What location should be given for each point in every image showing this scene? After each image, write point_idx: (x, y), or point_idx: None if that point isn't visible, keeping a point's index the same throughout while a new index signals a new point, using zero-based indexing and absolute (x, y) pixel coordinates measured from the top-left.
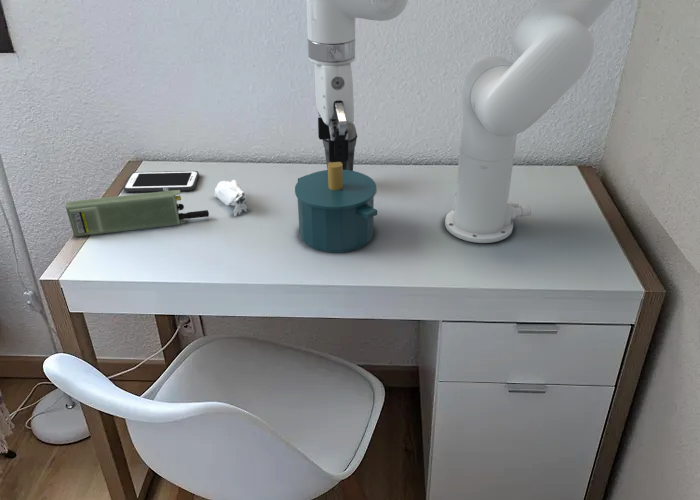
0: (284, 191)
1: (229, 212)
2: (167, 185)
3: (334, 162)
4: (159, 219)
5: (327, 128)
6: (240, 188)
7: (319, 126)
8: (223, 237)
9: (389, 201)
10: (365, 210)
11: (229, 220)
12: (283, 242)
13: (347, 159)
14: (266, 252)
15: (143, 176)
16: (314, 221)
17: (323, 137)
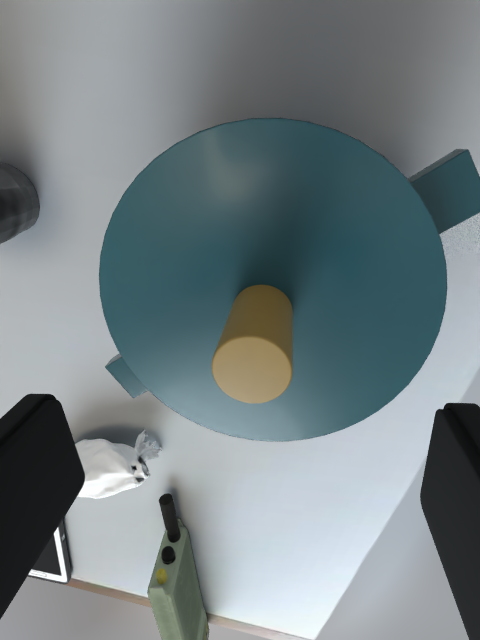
0: (46, 346)
1: None
2: (53, 537)
3: (230, 370)
4: (188, 563)
5: (24, 505)
6: (100, 468)
7: (29, 568)
8: (243, 474)
9: (91, 31)
10: (450, 208)
11: (178, 458)
12: None
13: (477, 410)
14: None
15: None
16: None
17: (74, 472)
